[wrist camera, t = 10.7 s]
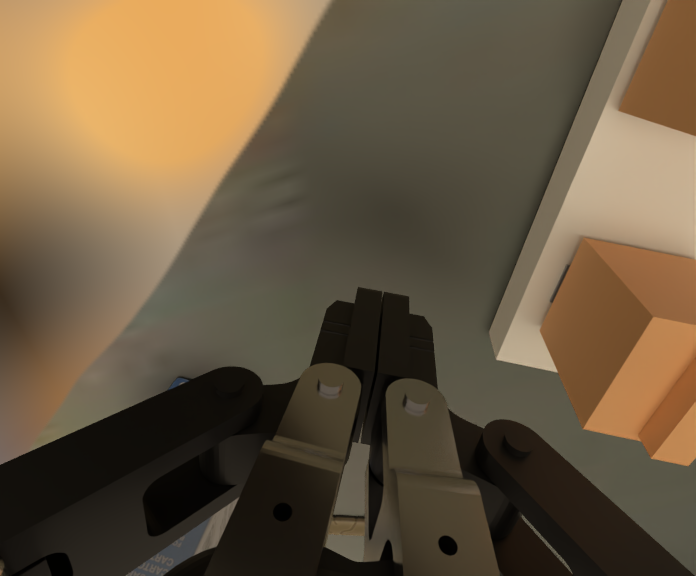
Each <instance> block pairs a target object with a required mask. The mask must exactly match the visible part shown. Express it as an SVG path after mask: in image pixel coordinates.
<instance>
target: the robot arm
mask: <svg viewBox="0 0 696 576" xmlns="http://www.w3.org/2000/svg"><path fill="white" fill-rule="evenodd" d="M381 300H382V302H381ZM362 424H363V428H362ZM361 428H362V437H361V443H362V444H368V445H370V453H369V460H368V464H367V467H366V472H365V544H364V559H363V562H355V561H352V560H350V559H348V558H346V557H344V556H342V555H340V554H338V553H336V552H334V551H332V550H330V549H328V548H326V542H327V538H328V534H329V529H330V525H331V521H332V517H333V513H334V508H335V504H336V500H337V496H338V491H339V487H340V483H341V479H342V474H343V470H344V466H345V464H346V463H347V461H348V459H349V455H350V451H351V447H352V442H357V443H358V441H359V437H360V432H361ZM237 498H239V499H238V501H237V503H236V505H235V507H234V510H233V512H232V514H231V516H230V518H229V521H228V523H227V525H226V527H225V530H224V532H223V534H222V536H221V538H220V541H219V543H218V545H217V546H216V547H213V548H210V549H208V550H205V551H202V552H200V553H198V554H196V555H194V556H192V557H190V558H188V559H186V560H185V561H183V562H181V563H180V564H178V565H176V566H175V567H174V568H172V569H171V570H169V571H168V572H167V573H165V574H164V575H163V576H694V575H693V574H692V573H691V572H690V571H689V570H688V569H686V568H685V567H684V566H683V565H682V564H681V563H680V562H679V561H678V560H676V559H675V558H674V557H673V556H672V555H671V554H670V553H669V552H668V551H666V550H665V549H664V548H663V547H662V546H661V545H660V544H659V543H658V542H656V541H655V540H654V539H653V538H652V537H651V536H650V535H649V534H648V533H646V532H645V531H644V530H643V529H642V528H641V527H640V526H639V525H638V524H636V523H635V522H634V521H633V520H632V519H631V518H630V517H629V516H628V515H626V514H625V513H624V512H623V511H622V510H621V509H620V508H619V507H618V506H616V505H615V504H614V503H613V502H612V501H611V500H610V499H609V498H608V497H606V496H605V495H604V494H603V493H602V492H601V491H600V490H599V489H598V488H596V487H595V486H594V485H593V484H592V483H591V482H590V481H589V480H588V479H586V478H585V477H584V476H583V475H582V474H581V473H580V472H579V471H578V470H576V469H575V468H574V467H573V466H572V465H571V464H570V463H569V462H568V461H566V460H565V459H564V458H563V457H562V456H561V455H560V454H559V453H558V452H556V451H555V450H554V449H553V448H552V447H551V446H550V445H549V444H548V443H546V442H545V441H544V440H543V439H542V438H541V437H540V436H539V435H538V434H536V433H535V432H534V431H533V430H531V429H530V428H528V427H526V426H524V425H522V424H520V423H518V422H515V421H511V420H501V419H500V420H495V421H492V422H490V423H488V424H487V425H486V426H485V428H484V429H483V428H481V427H479V426H477V425H474V424H472V423H470V422H468V421H466V420H464V419H462V418H460V417H458V416H457V415H455V414H454V413H453V412H451V411H450V410H449V409H448V406H447V403H446V400H445V398H444V396H443V395H442V394H441V393H440V392H439V391H438V388H437V377H436V366H435V355H434V344H433V333H432V327H431V326H430V325H429V323H428V322H427V320H426V319H425V317H424V316H419V315H413V314H409V296H404V295H399V294H393V293H388V292H384V294H383V297H382V291H377V290H371V289H366V288H361V287H358V289H357V294H356V299H355V304H354V303H349V302H344V301H338V300H337V301H335V302H334V303H333V304H332V305H331V306H329V307H328V308H327V310H326V313H325V317H324V321H323V324H322V327H321V331H320V334H319V337H318V340H317V344H316V347H315V351H314V354H313V357H312V361H311V364H310V367H309V368H307V369H306V370H305V371H304V372H303V373H302V375H301V377H300V378H299V379H297V380H295V381H292V382H289V383H285V384H276V385H263V384H262V381H261V379H260V378H259V377H258V376H257V375H256V374H255V373H254V372H252V371H250V370H248V369H245V368H241V367H222V368H218V369H215V370H212V371H210V372H208V373H206V374H203V375H201V376H199V377H197V378H194V379H192V380H190V381H188V382H185V383H183V384H181V385H179V386H176V387H174V388H172V389H170V390H167V391H165V392H163V393H161V394H158V395H156V396H154V397H152V398H149V399H147V400H145V401H143V402H140V403H138V404H136V405H134V406H131V407H129V408H127V409H125V410H122V411H120V412H118V413H116V414H113V415H111V416H109V417H107V418H104V419H102V420H100V421H98V422H95V423H93V424H91V425H89V426H86V427H84V428H82V429H80V430H77V431H75V432H73V433H71V434H68V435H66V436H64V437H62V438H59V439H57V440H55V441H53V442H50V443H48V444H46V445H44V446H41V447H39V448H37V449H35V450H32V451H30V452H28V453H26V454H23V455H21V456H19V457H17V458H14V459H12V460H10V461H8V462H5V463H3V464H1V465H0V576H126V575H127V574H129V573H130V572H131V571H133V570H134V569H136V568H137V567H139V566H140V565H142V564H143V563H145V562H146V561H147V560H149V559H150V558H152V557H153V556H155V555H156V554H158V553H159V552H160V551H162V550H163V549H165V548H166V547H168V546H169V545H171V544H172V543H173V542H175V541H176V540H178V539H179V538H181V537H182V536H184V535H185V534H187V533H188V532H189V531H191V530H192V529H194V528H195V527H197V526H198V525H200V524H201V523H202V522H204V521H205V520H207V519H208V518H210V517H211V516H213V515H214V514H215V513H217V512H218V511H220V510H221V509H223V508H224V507H226V506H227V505H229V504H230V503H231V502H233V501H234V500H236V499H237ZM522 514H523V516H524V517H525V518H526V519H527V520H528V521H529V522H530V523H531V524H532V525H533V526H534V528H535V529H536V530H537V531H538V532H539V533H540V534H541V535H542V536H543V537H544V538H545V540H546V541H547V542H548V543H549V544H550V545H551V546H552V547H553V548H554V549H555V550H556V552H557V553H558V554H559V555H560V556H561V557H562V558H563V559H564V560H565V562H566V563H567V564H568V566H569V567H570V569H571V571H572V573H573V574H572V573H571V572H570V571H569V570H568V569H567V568H566V567H565V566H564V564H563V563H562V562H561V561H560V560H559V559H558V558H557V557H556V556H555V555H554V553H553V552H552V551H551V550H550V549H549V548H548V547H547V546H546V545H545V544H544V542H543V541H542V540H541V539H540V538H539V537H538V536H537V535H536V534H535V533H534V531H533V530H532V529H531V528H530V527H529V526H528V525H527V524H526V523H525V522H524V520H523V519H522V518H521V517H520V516H521V515H522Z"/></svg>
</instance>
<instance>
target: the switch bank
mask: <svg viewBox="0 0 696 576" xmlns="http://www.w3.org/2000/svg"><path fill="white" fill-rule="evenodd" d="M667 1H668V0H622V3H621V5H620V8H619V10H618V13H617V15H616V18H615V20H614V23H613V25H612V28H611V30H610V33H609V35H608V38H607V40H606V43H605V45H604V48H603V50H602V52H601V55H600V57H599V60H598V62H597V65H596V67H595V70H594V72H593V75H592V77H591V80H590V82H589V85H588V87H587V90H586V92H585V95H584V97H583V100H582V102H581V105H580V107H579V110H578V112H577V115H576V117H575V119H574V122H573V124H572V127H571V129H570V132H569V134H568V137H567V139H566V142H565V144H564V147H563V149H562V152H561V154H560V157H559V159H558V162H557V164H556V167H555V169H554V172H553V174H552V177H551V179H550V182H549V184H548V186H547V189H546V191H545V194H544V196H543V199H542V201H541V204H540V206H539V209H538V211H537V214H536V216H535V219H534V221H533V224H532V226H531V229H530V231H529V234H528V236H527V239H526V241H525V244H524V246H523V248H522V251H521V253H520V256H519V258H518V261H517V263H516V266H515V268H514V271H513V273H512V276H511V278H510V281H509V283H508V286H507V288H506V291H505V293H504V296H503V298H502V301H501V303H500V306H499V308H498V311H497V313H496V315H495V318H494V320H493V323H492V325H491V328H490V330H489V335H490V339H491V343H492V346H493V350H494V354H495V358H496V360H501V361H505V362H510V363H515V364H520V365H525V366H529V367H534V368H539V369H544V370H548V371H553V372H558V371H557V369H556V367H555V365H554V362H553V360H552V358H551V356H550V353H549V351H548V349H547V347H546V344H545V342H544V340H543V337H542V335H541V333H540V331H539V330H540V328H541V326H542V324H543V322H544V320H545V318H546V316H547V314H548V311H549V309H550V307H551V305H552V303H553V301H554V299H555V297H556V295H557V293H558V290H559V288H560V286H561V284H562V282H563V280H564V278H565V276H566V274H567V272H568V269H569V267H570V265H571V263H572V261H573V259H574V257H575V255H576V253H577V251H578V248H579V246H580V244H581V242H582V240H583V238H589V239H594V240H599V241H604V242H609V243H614V244H619V245H624V246H629V247H634V248H639V249H644V250H649V251H654V252H659V253H664V254H669V255H674V256H680V257H685V258H690V259H695V260H696V136H693V135H690V134H687V133H684V132H681V131H678V130H675V129H672V128H669V127H666V126H663V125H660V124H657V123H653V122H650V121H647V120H644V119H641V118H638V117H635V116H632V115H629V114H626V113H623V112H620V111H618V110H619V108H620V106H621V104H622V101H623V99H624V97H625V95H626V92H627V90H628V88H629V86H630V84H631V81H632V79H633V77H634V75H635V72H636V70H637V68H638V66H639V63H640V61H641V59H642V57H643V54H644V52H645V50H646V48H647V46H648V43H649V41H650V39H651V37H652V34H653V32H654V30H655V28H656V25H657V23H658V21H659V19H660V17H661V14H662V12H663V10H664V8H665V5H666V3H667Z"/></svg>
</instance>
